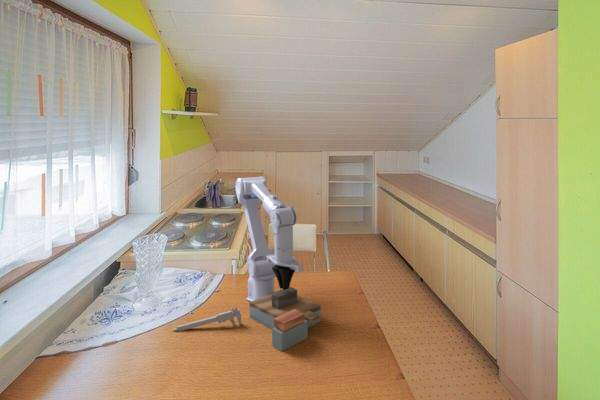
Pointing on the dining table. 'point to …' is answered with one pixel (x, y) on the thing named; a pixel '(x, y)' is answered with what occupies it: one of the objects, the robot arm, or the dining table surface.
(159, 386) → the dining table surface
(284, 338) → the blue grey tray
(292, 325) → the salmon pink block
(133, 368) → the dining table surface
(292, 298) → the lid
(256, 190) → the robot arm
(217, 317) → the caliper
